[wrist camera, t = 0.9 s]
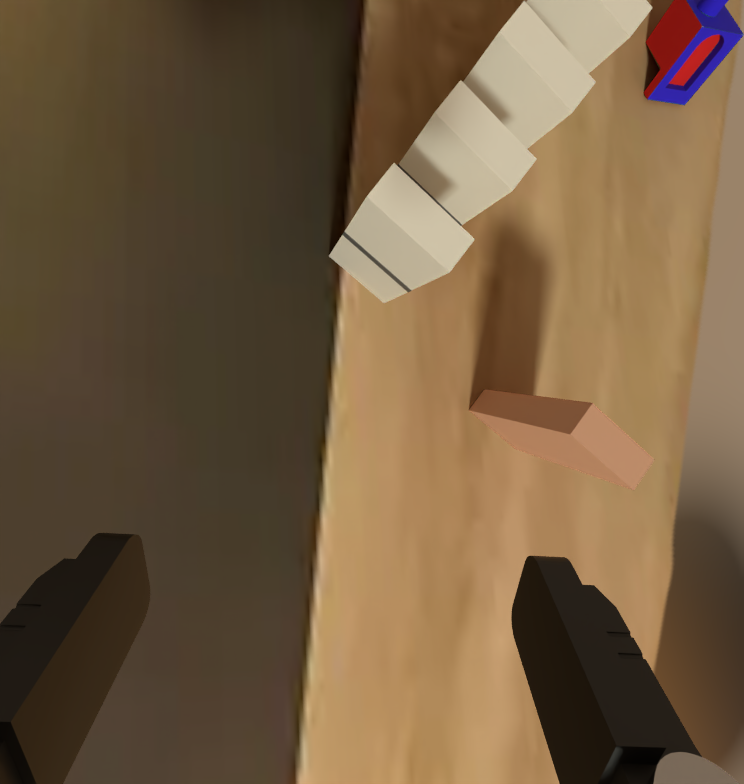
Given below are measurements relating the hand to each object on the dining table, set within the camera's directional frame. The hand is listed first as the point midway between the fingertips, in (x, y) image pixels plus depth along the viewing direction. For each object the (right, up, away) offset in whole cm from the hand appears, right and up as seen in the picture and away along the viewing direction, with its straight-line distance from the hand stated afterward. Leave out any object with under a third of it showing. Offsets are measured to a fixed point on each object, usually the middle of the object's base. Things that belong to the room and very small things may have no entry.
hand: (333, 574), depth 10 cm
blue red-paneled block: (+24, +30, +28) cm, 47 cm away
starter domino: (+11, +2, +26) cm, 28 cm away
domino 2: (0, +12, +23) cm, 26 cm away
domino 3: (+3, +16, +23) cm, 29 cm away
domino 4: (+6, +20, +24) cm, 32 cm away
